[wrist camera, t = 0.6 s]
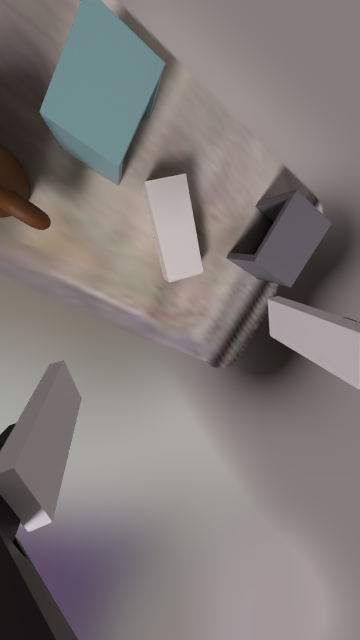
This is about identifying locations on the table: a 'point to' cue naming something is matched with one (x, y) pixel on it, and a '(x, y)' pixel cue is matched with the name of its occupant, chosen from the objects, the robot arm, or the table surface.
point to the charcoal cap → (285, 239)
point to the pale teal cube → (101, 89)
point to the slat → (173, 226)
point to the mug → (18, 193)
